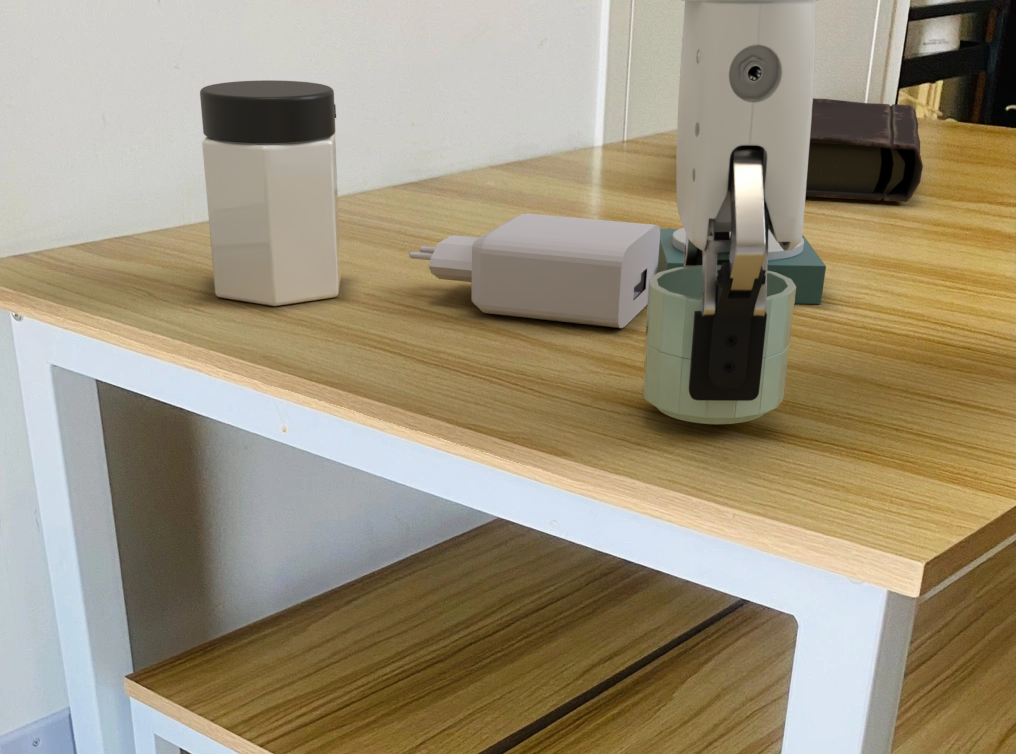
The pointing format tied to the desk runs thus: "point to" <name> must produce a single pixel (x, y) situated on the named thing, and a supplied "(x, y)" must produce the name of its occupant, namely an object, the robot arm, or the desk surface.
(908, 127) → the diary
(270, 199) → the jar
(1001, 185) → the desk surface
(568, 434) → the desk surface
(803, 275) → the scale
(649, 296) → the cup
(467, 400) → the desk surface
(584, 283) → the charger
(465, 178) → the desk surface
